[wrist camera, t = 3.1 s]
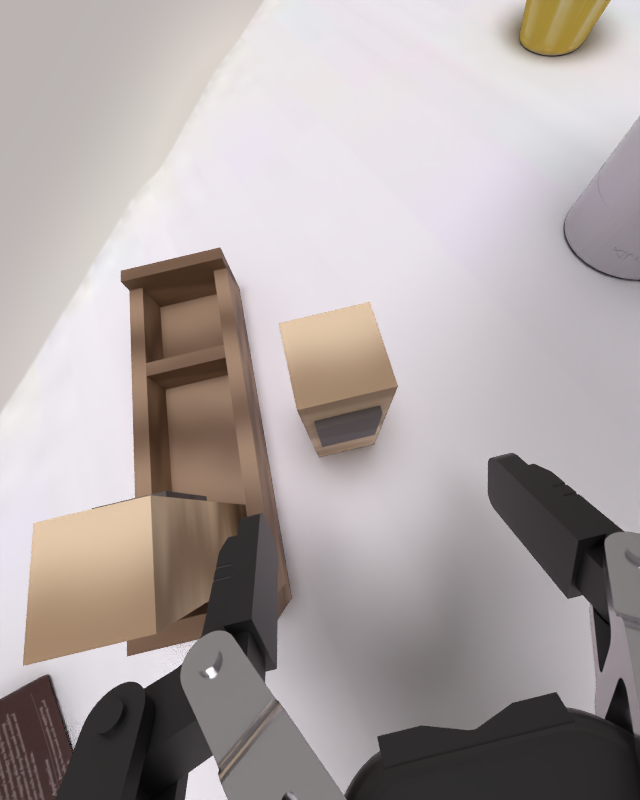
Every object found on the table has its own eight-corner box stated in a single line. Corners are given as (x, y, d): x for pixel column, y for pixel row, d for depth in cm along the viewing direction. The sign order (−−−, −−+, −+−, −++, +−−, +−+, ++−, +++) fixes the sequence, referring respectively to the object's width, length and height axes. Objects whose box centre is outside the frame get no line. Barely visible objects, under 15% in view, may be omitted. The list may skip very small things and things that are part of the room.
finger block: (307, 404, 24) (278, 323, 14) (359, 392, 24) (369, 302, 14) (320, 462, 23) (299, 419, 13) (375, 449, 23) (400, 395, 13)
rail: (154, 307, 28) (27, 169, 17) (238, 287, 28) (168, 136, 17) (173, 626, 20) (-47, 768, 9) (291, 598, 20) (222, 704, 9)
